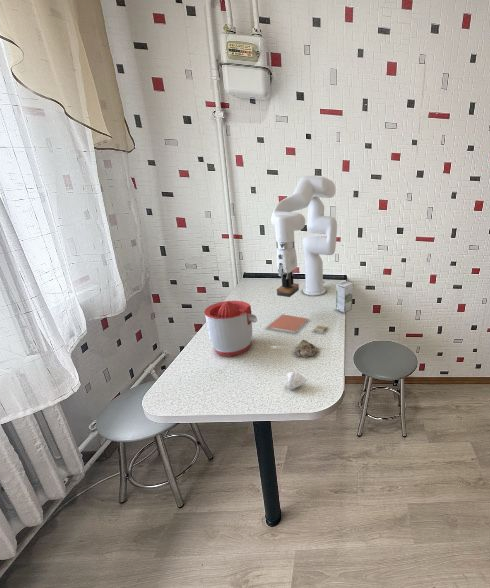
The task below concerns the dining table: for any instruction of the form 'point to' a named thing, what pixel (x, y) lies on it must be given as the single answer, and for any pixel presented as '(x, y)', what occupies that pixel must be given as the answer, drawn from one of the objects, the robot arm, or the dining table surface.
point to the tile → (288, 322)
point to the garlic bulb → (295, 380)
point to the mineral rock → (306, 349)
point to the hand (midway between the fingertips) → (288, 285)
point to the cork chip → (320, 328)
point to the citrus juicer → (230, 327)
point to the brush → (288, 291)
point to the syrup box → (344, 296)
